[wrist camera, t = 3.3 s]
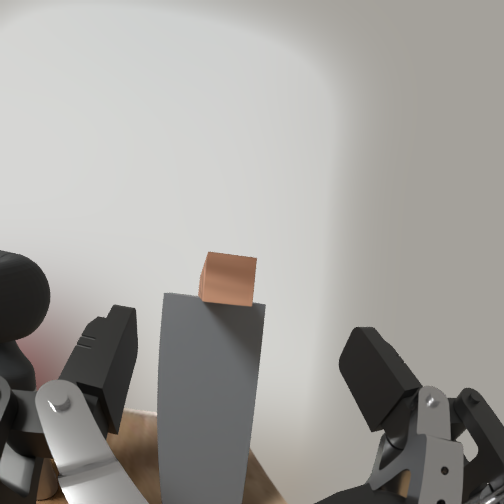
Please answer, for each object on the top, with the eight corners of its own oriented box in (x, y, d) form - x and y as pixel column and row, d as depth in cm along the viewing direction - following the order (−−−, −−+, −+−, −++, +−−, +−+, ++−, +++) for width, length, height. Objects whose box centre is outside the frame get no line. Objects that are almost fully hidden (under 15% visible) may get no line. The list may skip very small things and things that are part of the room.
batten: (252, 306, 16) (256, 257, 17) (202, 301, 16) (208, 251, 16) (217, 297, 41) (219, 278, 42) (198, 295, 41) (200, 276, 41)
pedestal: (238, 523, 21) (265, 304, 27) (164, 520, 19) (164, 293, 25) (230, 492, 29) (249, 301, 34) (166, 488, 27) (171, 292, 33)
